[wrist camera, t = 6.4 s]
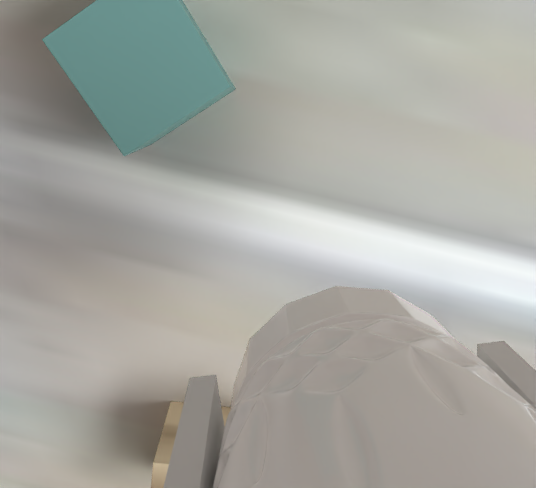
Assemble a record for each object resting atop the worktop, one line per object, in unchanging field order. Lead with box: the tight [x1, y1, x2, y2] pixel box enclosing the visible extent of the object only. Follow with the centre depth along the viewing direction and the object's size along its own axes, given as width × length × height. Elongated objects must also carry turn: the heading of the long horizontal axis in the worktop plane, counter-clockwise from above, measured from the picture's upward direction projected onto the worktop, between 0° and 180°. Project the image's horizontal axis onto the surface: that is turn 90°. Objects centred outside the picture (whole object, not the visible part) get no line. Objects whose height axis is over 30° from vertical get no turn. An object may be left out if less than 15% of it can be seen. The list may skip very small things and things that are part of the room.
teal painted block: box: [42, 0, 235, 156], centre depth 20 cm, size 5×5×5 cm
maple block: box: [151, 401, 231, 488], centre depth 26 cm, size 5×5×5 cm
